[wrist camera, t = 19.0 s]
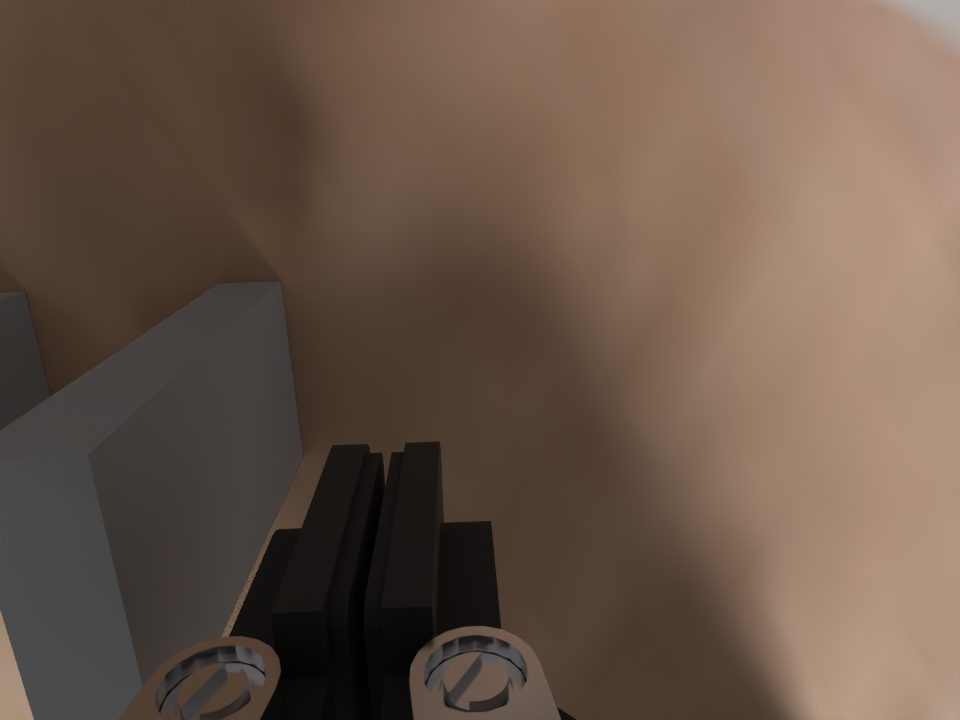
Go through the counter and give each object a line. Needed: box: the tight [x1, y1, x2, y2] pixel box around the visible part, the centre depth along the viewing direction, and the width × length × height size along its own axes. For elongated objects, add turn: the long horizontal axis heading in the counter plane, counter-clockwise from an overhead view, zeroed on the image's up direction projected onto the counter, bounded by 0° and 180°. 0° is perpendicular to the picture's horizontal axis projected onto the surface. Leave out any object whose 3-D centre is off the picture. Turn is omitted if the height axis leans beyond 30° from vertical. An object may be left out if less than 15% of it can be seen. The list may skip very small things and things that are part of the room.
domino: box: [0, 281, 303, 720], centre depth 14 cm, size 2×5×10 cm, turn 2°
